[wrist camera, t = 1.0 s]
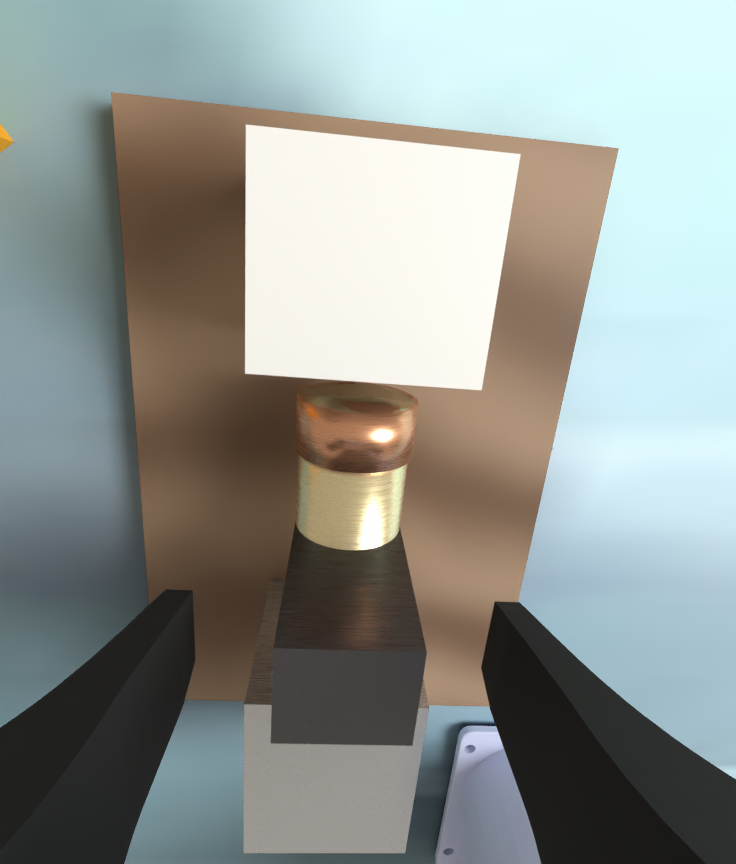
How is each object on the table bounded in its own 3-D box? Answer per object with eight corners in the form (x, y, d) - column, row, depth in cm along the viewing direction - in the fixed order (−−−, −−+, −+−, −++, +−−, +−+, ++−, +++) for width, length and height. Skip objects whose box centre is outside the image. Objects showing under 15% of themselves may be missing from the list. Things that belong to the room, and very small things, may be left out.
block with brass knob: (370, 724, 19) (384, 948, 13) (287, 722, 19) (260, 950, 13) (410, 385, 15) (459, 480, 9) (301, 377, 15) (272, 469, 8)
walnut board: (488, 687, 22) (494, 706, 21) (164, 678, 21) (156, 699, 20) (601, 154, 15) (618, 148, 14) (126, 103, 14) (111, 92, 13)
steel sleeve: (389, 704, 21) (405, 853, 16) (268, 701, 20) (243, 853, 15) (405, 583, 19) (429, 708, 14) (271, 578, 18) (244, 704, 13)
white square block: (436, 346, 16) (481, 390, 11) (277, 333, 15) (245, 373, 10) (456, 190, 14) (520, 154, 9) (281, 172, 14) (245, 124, 9)
